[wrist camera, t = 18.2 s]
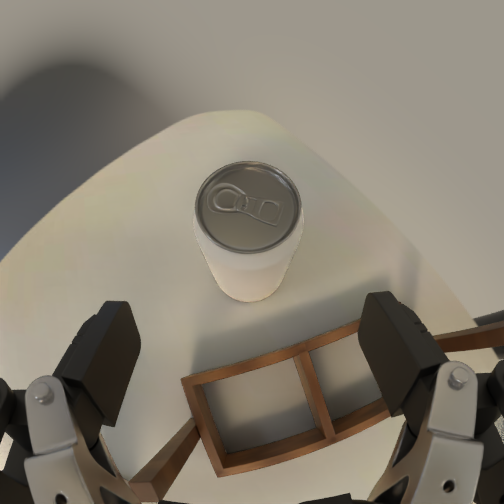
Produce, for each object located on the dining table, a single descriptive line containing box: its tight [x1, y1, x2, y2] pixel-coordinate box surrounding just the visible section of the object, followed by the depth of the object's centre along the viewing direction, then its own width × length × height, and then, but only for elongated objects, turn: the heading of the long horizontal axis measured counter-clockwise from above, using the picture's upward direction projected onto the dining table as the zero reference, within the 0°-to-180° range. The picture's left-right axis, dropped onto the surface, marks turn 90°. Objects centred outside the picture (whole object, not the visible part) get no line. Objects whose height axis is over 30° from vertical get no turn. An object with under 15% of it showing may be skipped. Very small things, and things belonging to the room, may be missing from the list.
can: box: [193, 161, 304, 302], centre depth 20 cm, size 6×6×12 cm
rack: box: [128, 302, 504, 502], centre depth 15 cm, size 22×9×14 cm, turn 107°
